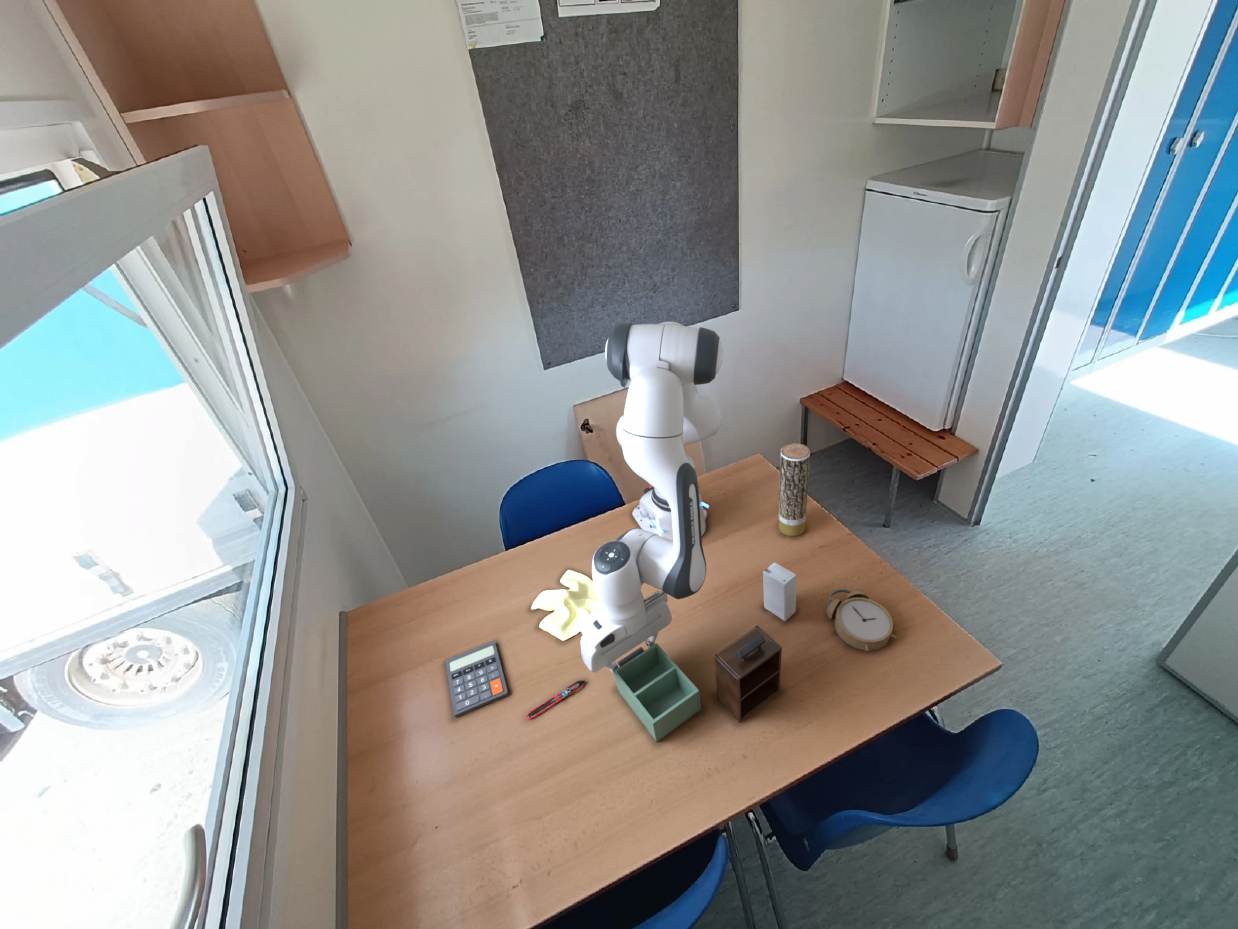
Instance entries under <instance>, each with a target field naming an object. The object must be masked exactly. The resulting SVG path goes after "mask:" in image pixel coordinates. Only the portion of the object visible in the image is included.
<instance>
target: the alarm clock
mask: <svg viewBox="0 0 1238 929" xmlns="http://www.w3.org/2000/svg"><path fill="white" fill-rule="evenodd" d="M840 593H847V596H846V599H844V600H841V599H840V598H835V599H832V600H831V598H832V597H833V596H834V595H836V594H840ZM825 607H826V615H827V617H828V618H829V619H830V620H833V619H834V623H833V624H834V628H835V632H836V633H837V635H838V636H839V638H840V639H841V640H843V641H844V643H845V644H848V645H849V646H851V647H853V648H855V649H858V650H862V651H865V652H869V651H875V650H879V649H881V648H883V647H884V646H885V645H887V643H888V642H889V640H890V638H892V639H897V636H896V635H895V634H893V628H894V621H893V617H892V615H891V614H890V612H889V611H888V610H887V608H886V607H884V606H883V605H882V604H880V603H879V602H877V601H875V600H873V599H870V597H869V596H868V594H867V593H866V592H864V591H862V590H853V591H852V590H850V589H847V588H838V589H835V590H832V592H831V593H830V594H829V596H828V602H827V603H826V604H825Z"/></svg>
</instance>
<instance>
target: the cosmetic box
mask: <svg viewBox="0 0 1238 929" xmlns="http://www.w3.org/2000/svg"><path fill="white" fill-rule="evenodd" d="M762 581H763V582H762V584H763V607H764V608H765V610H767V611H769V612H771V613H772V614H773V615H775V616H776V617H778V618H779V619H780V620H782V621H784V622H787V620H788V619H790V618H791V617H792V616H793V615H794V614H795V613H796V612H797V574H796V573H794V572H792V571H791V570H789V569H787V568H785V567H784V566H782V565H780V564H778V563H777V562H775V561H774V562H773V563H771V564H770V565H769V566H768V567H767V568H765V569H764V571H762Z"/></svg>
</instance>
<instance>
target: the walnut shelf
mask: <svg viewBox="0 0 1238 929" xmlns="http://www.w3.org/2000/svg"><path fill="white" fill-rule="evenodd" d="M782 658H783V646H781V645H780V644H779V643H778V642H777V641H775V639H773V637H771V636H770V635H769V634H768V633H767V632H766V631H764V630H763V629H762V628H761V627H760V626H759V625H755V626H754V627H753V628H751V629H750V630H748V631H747V632H745V633H744V634H743V635H741V636H739V637H738V638H737V639H735V640H734V641H733V642H731V643H730V644H728V645H727V646H725V647H724V648H722V649H721V650H720V651H718V652H716V653H715V654H714V655H713V662H714V663H713V664H714V676H715V677H714V678H715V692H716V699H717V700H718V701H719V702H720V703H721V704H722V706H723V707H724V708H725V709H726V710H727V711H728V712H729V713H730V714H731V715H732V717H733V718H734V719H735V720H736V721H737V722H738V723H741V721H743V720H744V719H746V718H747V717H748V716H749V715H751V714H752V713H753V712H755V711H756V710H757V709H758V708H760V707H761V706H762V705H764V704H765V703H767V701H769V700H770V699H771V698H773V697H774V696H776V694H778V693H779V692H781V683H782V682H781V680H782Z"/></svg>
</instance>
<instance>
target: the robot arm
mask: <svg viewBox="0 0 1238 929" xmlns="http://www.w3.org/2000/svg"><path fill="white" fill-rule="evenodd" d="M720 338H721V337H720V335H718V334H717V333H716V331H715V330H713V329H710V328H706V327H702V326H700V327H699V328H697V327H693V326H688V325H684V324H682V323H679V322H677V321H662V322H659V323H640V324H634V323H632V322H627V323H621V324H617V325H615V326H614V327H613V328H612V329H611V330H610V332H609V335H608V337H607V340H606V342H605V347H604V355H605V356H604V358H605V362H606V367H607V370H608V371H609V373H610V374H611V376H612V377H613V378H614V379H616V380H618V381H619V383H620V386H621V388H622V387H623V388H624V389H625V388H626V387H627V384H628V381H630V382H629V386H628V390H627V393H626V397H625V398H626V399H625V404H624V411H623V415H621V416H620V418H618V421H617V423H616V428H615V435H616V439H617V442H618V443H619V446H620V447H621V449H622V454H623V458H624V461H625V462H626V464H627V466H628V467H629V468H630V469H631V471H632V472H634V473H635V474H636V475H637V476H638V477H639V478H641V479H642V480H644V481H645V482H647V483H648V487H646V488H644V489H643V493H644V494H643V495H642V496H641V497H640V499H639V503H638V505H637V506H636V507H634V509H633V510H632V517H633V518H634V520H635V521H636V523H637V524H638V526H639V527H633V528H631V529H628V530H627V531H625V532H624V533H622V534H621V535H620V536H619V537H617V538H616V539H615V540H609V541H607V542H605V543H603V544H602V545H600V546H599V547H597V549H596V550H595V552H594V554H593V557H592V561H591V577H592V579H591V580H592V581H593V585H594V589H595V593H596V596H597V598H598V599H599V605H598V606H597V607H596V609H595V610H594V611H593V612H592V613H591V614H590V615H589V616H588V617H587V618H586V619H585V620H584V621H583V622H582V623H581V624H580V626H579V629H580V631H581V632H580V633H581V635H582V636H581V638H580V644H579V645H580V653H581V654H580V655H581V658H582V661H583V663H584V665H585V666H586V667H587V669H588V670H589V671H590V672H591V673H598V672H599V671H601V670H602V669H604V668H605V667H606V668H607V669H608V670H609V671H610V672H611V673H612V674H614V673H613V671H615V670H616V669H618V668H619V665H618V663H617V662H616V660H618V659H619V658H621V657H622V656H624V655H625V654H627V653H629V652H630V651H631V650H633V649H634V648H636V647H638V646H639V645H640V644H642V643H645V645H646V647H647V649H648V648H650V647H651V646H653V645H655V644H656V640H657V638H658V636H659V633H660V632H661V631H662V630H663V629H665V628H667V627H668V626H670V624H672V620H673V617H672V613H671V612H672V611H671V609H670V607H669V604H668V600H669V599H668V596H670V597H672V598H674V599H675V600H682V599H686V598H689V597H691V596H693V595H695V594H696V593H698V592H699V591H700V590H701V588H702V587H703V585H704V583H705V581H706V580H705V579H706V576H707V561H706V557H705V553H704V548H703V535H704V534H705V532H706V528H707V526H706V525H707V524H706V519H707V517H708V512H707V510H706V509H704V507H705V508H707V509H709V507H710V505H709V504H707V503H705V502H704V501H703V500H702V495H701V493H700V489H699V481H698V476H697V472H696V465H695V462H694V460H693V459H692V457H691V456H690V455H688V454H687V453H686V450H685V448H684V447H685V446H686V445H690V444H694V443H699V442H701V441H704V440H706V439H708V438H711V437H713V436H715V435H716V434H717V433H718V432H719V430H720V427H721V424H722V413H721V410H720V408H719V405H718V404H717V403H716V402H715V401H714V400H713V398H711V397H709V396H706V395H703V394H700V393H699V392H698V391H696V387H695V386H696V385H697V386H698V385H699V386H700V385H707V384H710V383H711V382H712V381H714V380H715V379H716V376H717V374H718V373H719V371H720V369H721V367H722V364H723V359H724V358H723V357H724V350H723V346H722V343H721V341H720V340H721V339H720ZM644 584H646V585H648V586H651V587H653V588H656V589H658V590H657V591H655V592H653V593H652V594H651V595H649V596H647V597H645V598H644V595H643V592H642V586H643V585H644Z"/></svg>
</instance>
